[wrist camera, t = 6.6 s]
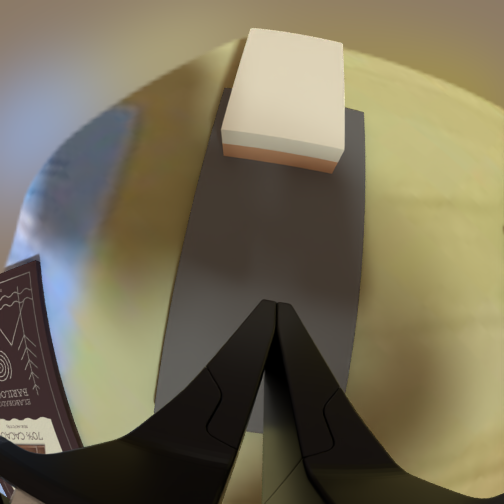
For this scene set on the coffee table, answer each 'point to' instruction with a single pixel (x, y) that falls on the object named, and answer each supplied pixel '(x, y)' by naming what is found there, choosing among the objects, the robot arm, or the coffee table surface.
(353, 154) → the mat
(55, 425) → the chocolate bar
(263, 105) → the tile
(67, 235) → the coffee table surface
